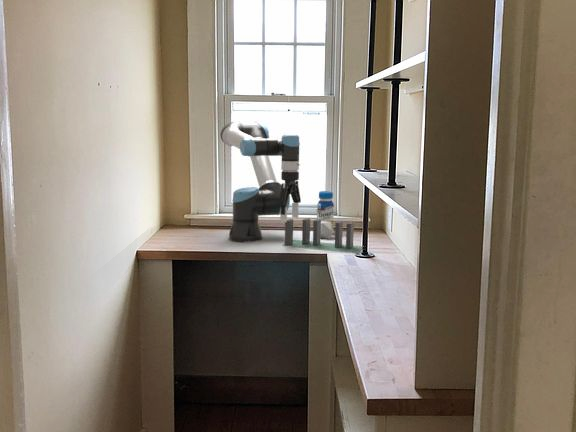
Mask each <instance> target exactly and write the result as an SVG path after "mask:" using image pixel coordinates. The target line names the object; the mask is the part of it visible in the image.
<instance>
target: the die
mask: <svg viewBox="0 0 576 432" xmlns="http://www.w3.org/2000/svg"><path fill="white" fill-rule="evenodd" d="M333 234H335V230H334V226H333V227H332V224H331V222H325V221H321V239H330V238H331V236H333Z"/></svg>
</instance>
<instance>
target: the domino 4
mask: <svg viewBox="0 0 576 432" xmlns="http://www.w3.org/2000/svg"><path fill="white" fill-rule="evenodd" d="M334 224H335V225H334V229H335V230H334V244H335V248H340V247H341V246H342V244H343V231H344V229H343V228H344V227H343V226H344V222H343V220H337V221H336V222H335V223H334Z"/></svg>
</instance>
